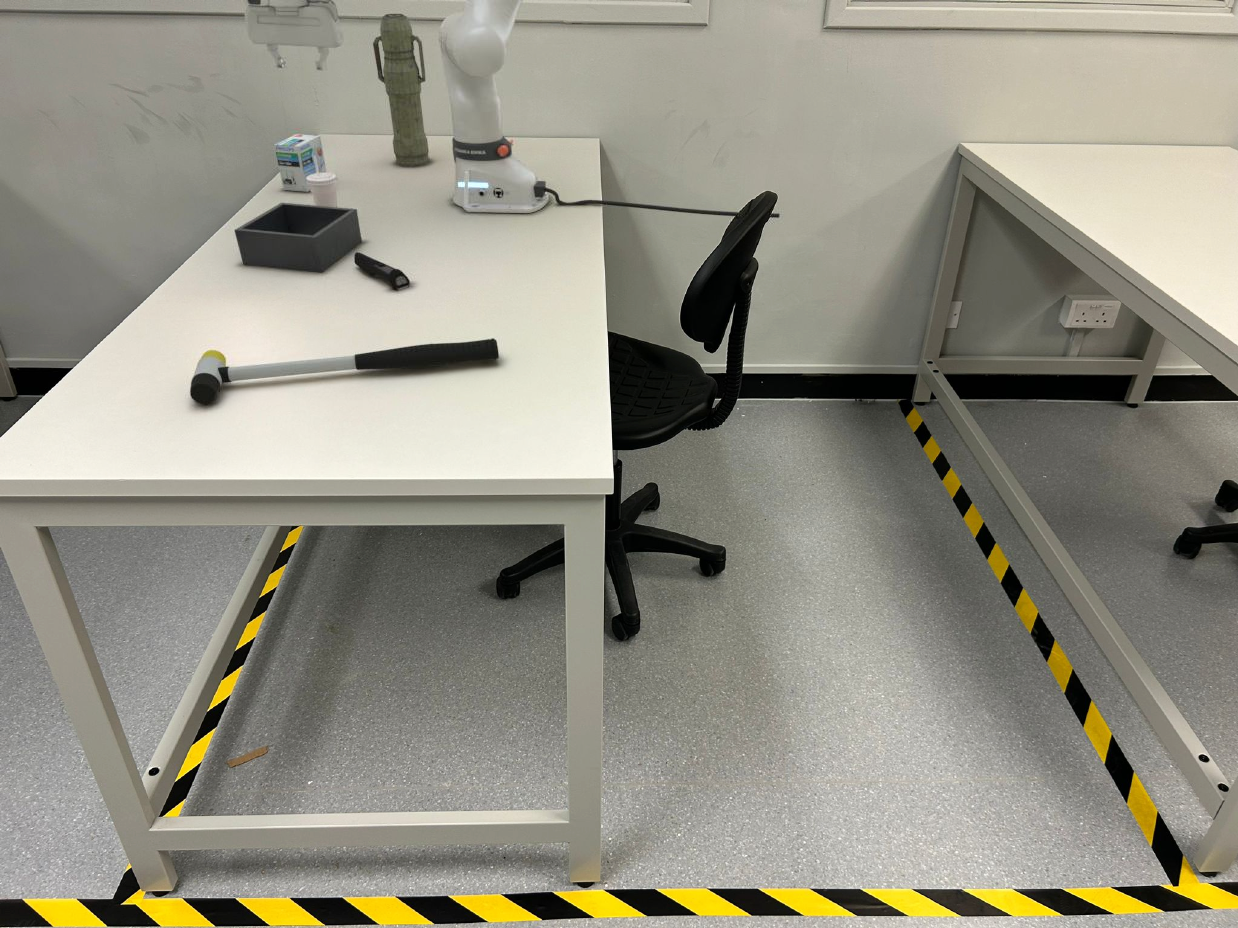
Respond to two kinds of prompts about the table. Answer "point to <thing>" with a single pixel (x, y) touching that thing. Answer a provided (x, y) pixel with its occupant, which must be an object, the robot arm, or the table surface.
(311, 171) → the light bulb box
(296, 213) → the basin
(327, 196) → the smoothie
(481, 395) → the table surface
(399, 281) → the electric trimmer
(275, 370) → the hammer
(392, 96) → the thermos
